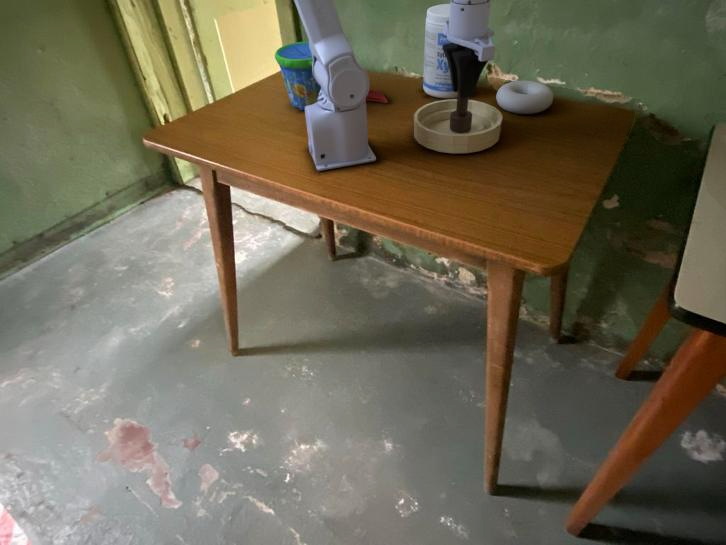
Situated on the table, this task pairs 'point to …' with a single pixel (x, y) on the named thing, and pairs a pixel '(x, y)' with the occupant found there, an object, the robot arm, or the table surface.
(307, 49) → the snack cup
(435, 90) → the supplement tub
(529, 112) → the donut
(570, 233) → the table surface
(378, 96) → the red curved leaf
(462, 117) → the pestle
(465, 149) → the bowl
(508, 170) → the table surface
